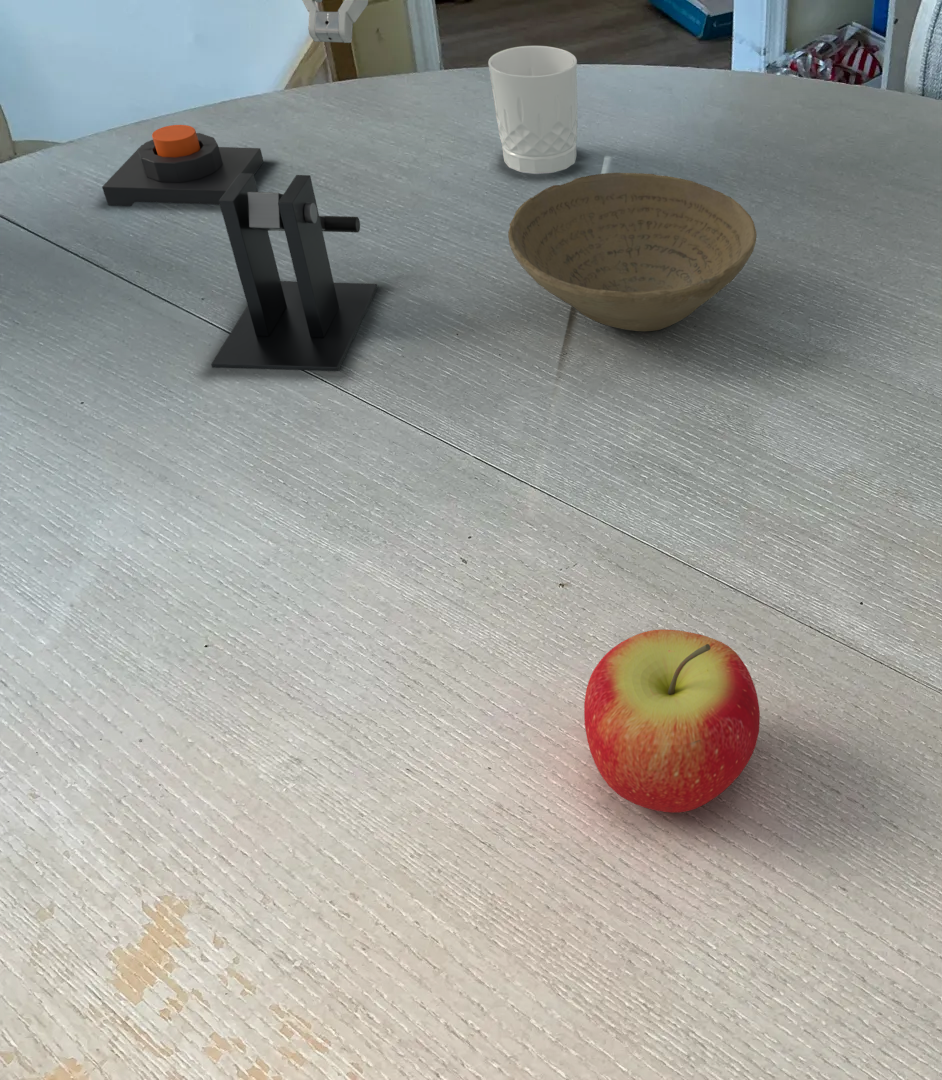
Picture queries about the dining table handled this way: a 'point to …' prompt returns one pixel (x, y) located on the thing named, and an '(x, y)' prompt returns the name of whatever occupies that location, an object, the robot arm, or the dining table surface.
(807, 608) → the dining table surface
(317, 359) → the bracket
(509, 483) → the dining table surface
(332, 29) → the robot arm
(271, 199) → the lever
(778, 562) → the dining table surface
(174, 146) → the button
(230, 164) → the button box
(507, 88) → the white cup
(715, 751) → the apple
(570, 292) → the bowl
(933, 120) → the dining table surface
